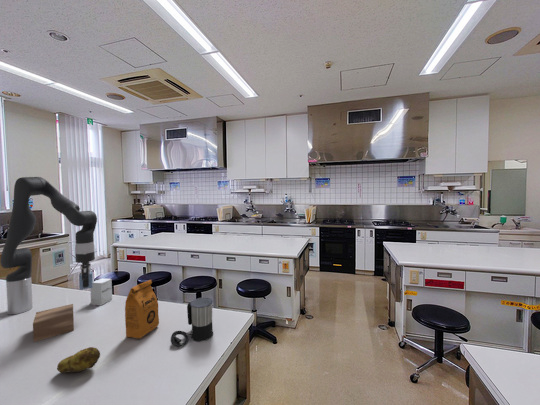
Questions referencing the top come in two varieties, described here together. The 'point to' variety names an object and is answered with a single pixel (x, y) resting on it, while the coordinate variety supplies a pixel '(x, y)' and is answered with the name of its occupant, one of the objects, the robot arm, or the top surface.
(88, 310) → the top surface
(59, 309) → the walnut box
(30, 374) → the top surface
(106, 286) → the supplement box
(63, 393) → the top surface
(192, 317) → the milk frother
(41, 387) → the top surface
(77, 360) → the potato
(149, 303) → the coffee package
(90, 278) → the slate block
